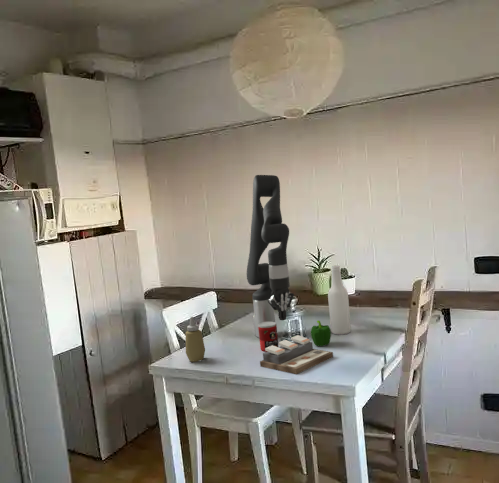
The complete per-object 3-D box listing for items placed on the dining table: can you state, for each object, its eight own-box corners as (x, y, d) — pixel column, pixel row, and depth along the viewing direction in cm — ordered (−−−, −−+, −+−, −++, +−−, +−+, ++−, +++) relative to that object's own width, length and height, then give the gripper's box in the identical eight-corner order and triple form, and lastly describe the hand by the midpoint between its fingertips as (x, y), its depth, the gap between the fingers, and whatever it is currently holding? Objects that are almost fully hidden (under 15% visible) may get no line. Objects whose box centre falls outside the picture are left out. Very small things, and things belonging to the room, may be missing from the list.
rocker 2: (278, 346, 222) (278, 342, 221) (285, 343, 224) (285, 339, 224) (290, 351, 217) (291, 347, 217) (297, 348, 220) (297, 344, 220)
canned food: (266, 353, 233) (263, 327, 232) (257, 349, 240) (254, 324, 239) (282, 349, 237) (279, 323, 235) (272, 345, 244) (270, 320, 243)
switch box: (260, 366, 217) (259, 353, 217) (297, 350, 233) (296, 338, 232) (296, 374, 204) (295, 360, 204) (333, 357, 220) (332, 344, 219)
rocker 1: (265, 351, 216) (265, 347, 216) (272, 348, 219) (272, 345, 219) (277, 356, 212) (277, 352, 212) (284, 353, 215) (284, 349, 214)
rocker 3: (291, 341, 227) (291, 337, 226) (297, 338, 230) (297, 334, 229) (303, 345, 222) (303, 342, 222) (309, 343, 225) (310, 339, 225)
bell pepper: (331, 347, 232) (329, 323, 231) (311, 348, 234) (309, 324, 233) (332, 341, 241) (330, 318, 240) (313, 342, 242) (310, 319, 241)
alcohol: (345, 328, 259) (339, 263, 256) (354, 332, 251) (349, 265, 248) (327, 331, 256) (322, 266, 253) (336, 336, 248) (331, 268, 245)
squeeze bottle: (198, 363, 228) (193, 320, 226) (182, 362, 233) (177, 319, 231) (210, 357, 235) (205, 315, 233) (194, 356, 239) (189, 314, 237)
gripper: (283, 272, 225) (287, 314, 227) (259, 278, 216) (263, 322, 218) (297, 273, 219) (301, 317, 222) (274, 279, 210) (278, 325, 213)
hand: (282, 319), depth 220 cm, fingers closed
